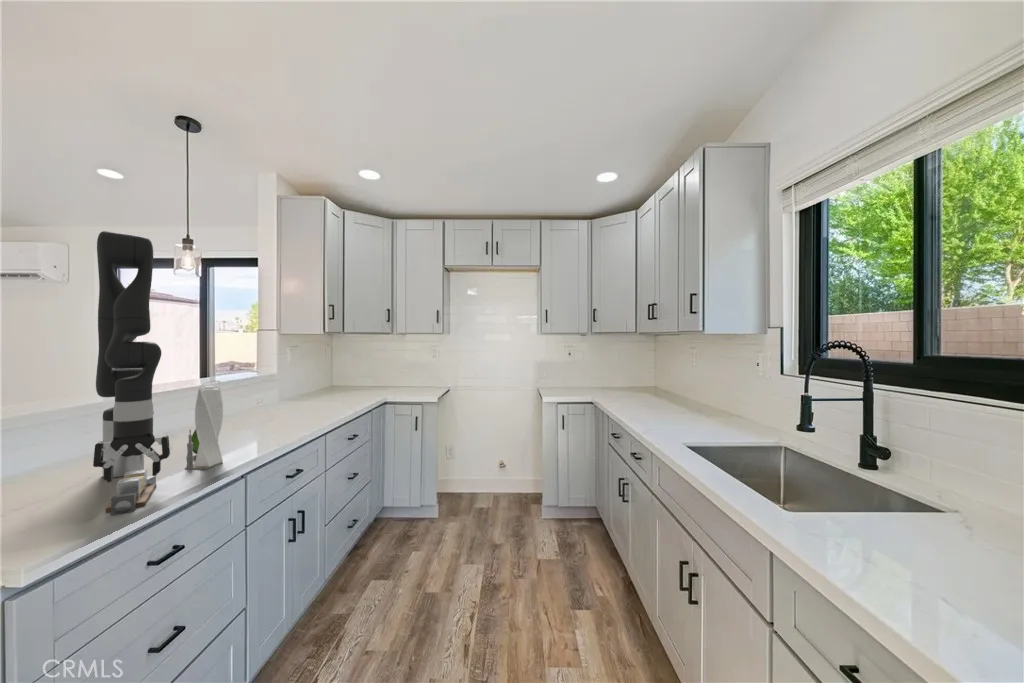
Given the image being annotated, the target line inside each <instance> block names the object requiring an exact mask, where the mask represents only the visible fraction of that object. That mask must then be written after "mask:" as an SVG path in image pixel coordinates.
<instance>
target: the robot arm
mask: <svg viewBox="0 0 1024 683" xmlns="http://www.w3.org/2000/svg"><path fill="white" fill-rule="evenodd" d="M96 253H97V255H96V256H97V258H96V259H97V267H98V268H97V270H98V286H99V289H98V290H99V291H98V304H97V305H98V306H97V307H98V309H97V332H98V334H97V336H98V354H97V366H96V375H95V390H96V393H97V395H98V396H99V397H101V398H114V405H113V407H110V408H107V409H105V410H104V411H103V412H102V440H100V441H99V442H97V443H96V444H95V445H94V452H93V461H92V462H93V464H92V466H93V467H94V468H102V471H101V472H102V477H103V480H104V481H106V482H107V483H112V482H113V480H114V478H118V477H124V474H125V473H126V472H130V471H137V470H145V456H146V457H148V458H149V459H151V460H152V461H153V462H152V468H151V469H152V473H151V474H152V475H151V476H156V477H157V475H158V474H159V473H160V471H161V470H162V469H161V466H162V465H161V464H162V463H161V462H162V461H163V460H166V459H168V458H169V456H170V455H171V449H170V440H169V439H170V438H169V435H168V434H165V435H162V436H154V414H155V411H154V404H153V383H154V382H153V381H154V378H155V377H154V376H155V374H156V370H157V368H158V365H159V363H160V361H161V358H162V349H161V347H160V345H158V343H157V342H154V341H134V340H136V339H137V337H142V336H143V337H144V336H145V335H148V334H149V333H150V332H151V312H150V298H151V288H152V283H153V281H152V280H153V269H154V246H153V243H152V241H151V239H150V238H148V237H147V236H141V235H135V234H129V233H122V232H115V231H107V230H106V231H105V230H103V231H100V232H99V233H98V236H97V240H96ZM114 267H121V268H122V267H123V268H133V269H137V272H136V275H135V278H134V279H133V280H132V281H131V283H130V284H129V285H127V286H126V287H125V286H124V284H123V283H122V282H121V280H120V278H119V276H118V275H117V273H116V270H115V268H114ZM155 442H156V443H158V445H160V446H161V453H158V452H157V451H156V450H155V449H154V448H153V447H152V445H153V444H154V443H155Z"/></svg>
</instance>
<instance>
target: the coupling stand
mask: <svg viewBox="0 0 1024 683" xmlns="http://www.w3.org/2000/svg"><path fill="white" fill-rule="evenodd" d="M156 488H157V475H156V476H152V475H147V488H146V489H145V491H142V492H141V497H140V498H139V500H136V493H131V494H124V495H118V496H116V495H113V496H112V497H110V498H111V499H110V503H109V504H108V505H107V506H106V507H105V513H110V516H113V515H114V516H115V515H120V514H125V513H131V512H135V510H136V509H137V508H139V507H144V506H146V505H147V503H148V501H149V500H150V499H151V496H152V495H153V494H154V492H155V489H156Z"/></svg>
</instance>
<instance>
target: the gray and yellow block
mask: <svg viewBox="0 0 1024 683" xmlns="http://www.w3.org/2000/svg"><path fill="white" fill-rule="evenodd" d="M147 473H148V470H147V469H145V468H144V470H137V471H130V472H126V473H125V474H124V476H123V478H122V479H119V480H118V481H117V482H116V494H115V496H118V495H124V494H131V493H136V500H139V498H140V497H141V492H142V491H145V489H146V488H147V476H148V474H147Z"/></svg>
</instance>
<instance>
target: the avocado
mask: <svg viewBox="0 0 1024 683" xmlns="http://www.w3.org/2000/svg"><path fill="white" fill-rule="evenodd" d="M191 435H192V438H191V442H193V450H192V453H193V454H196V455H197V452H198V448H199V440H198V437H197V432H196V428H194V432H192V434H191Z"/></svg>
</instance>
